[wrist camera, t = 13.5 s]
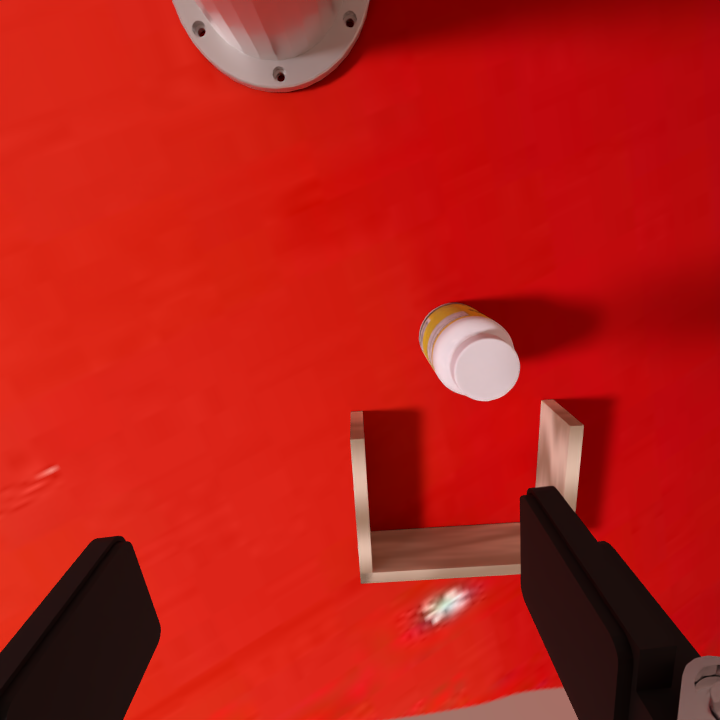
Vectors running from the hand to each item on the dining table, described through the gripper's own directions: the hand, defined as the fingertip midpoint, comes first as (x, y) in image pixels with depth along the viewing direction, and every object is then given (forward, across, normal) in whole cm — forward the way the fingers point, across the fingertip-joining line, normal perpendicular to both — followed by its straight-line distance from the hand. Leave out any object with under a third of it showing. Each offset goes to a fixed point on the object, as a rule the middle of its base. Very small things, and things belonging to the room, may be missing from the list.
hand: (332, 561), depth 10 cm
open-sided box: (+25, -8, +14) cm, 30 cm away
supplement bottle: (+25, -8, +2) cm, 26 cm away
